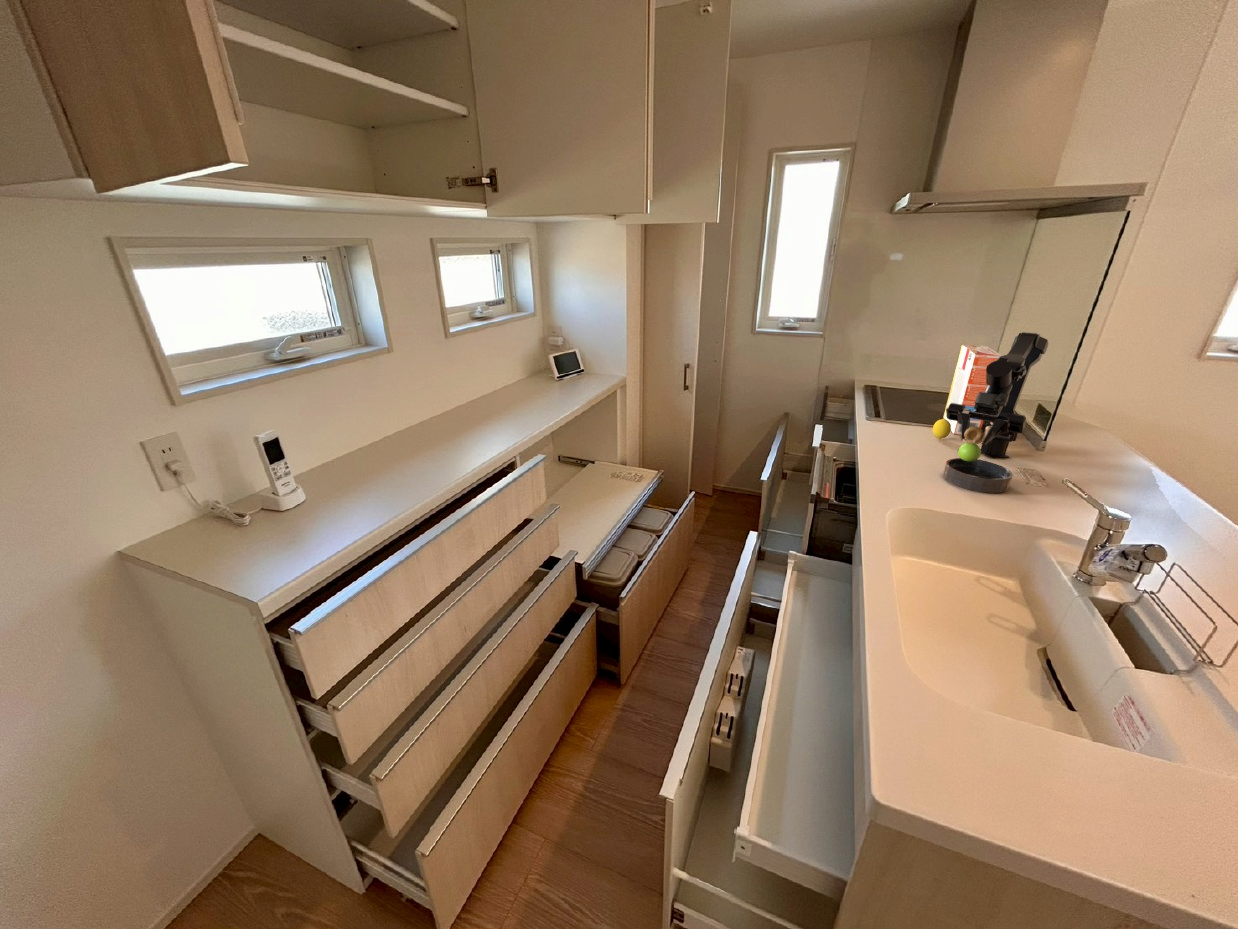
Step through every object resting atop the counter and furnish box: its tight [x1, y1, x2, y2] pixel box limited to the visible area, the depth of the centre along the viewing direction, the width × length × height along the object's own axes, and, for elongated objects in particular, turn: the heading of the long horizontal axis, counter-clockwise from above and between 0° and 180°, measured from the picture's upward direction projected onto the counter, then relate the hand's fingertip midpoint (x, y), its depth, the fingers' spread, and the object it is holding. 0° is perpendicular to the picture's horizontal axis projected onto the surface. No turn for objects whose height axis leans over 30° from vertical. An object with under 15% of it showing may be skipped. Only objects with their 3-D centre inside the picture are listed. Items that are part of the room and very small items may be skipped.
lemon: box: [932, 418, 952, 440], centre depth 181 cm, size 6×6×8 cm
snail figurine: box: [957, 422, 994, 462], centre depth 142 cm, size 5×6×12 cm
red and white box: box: [942, 344, 1003, 436], centre depth 191 cm, size 23×8×30 cm, turn 157°
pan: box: [942, 457, 1014, 494], centre depth 147 cm, size 16×16×4 cm
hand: (972, 442), depth 141 cm, fingers closed on snail figurine, 5 cm apart
